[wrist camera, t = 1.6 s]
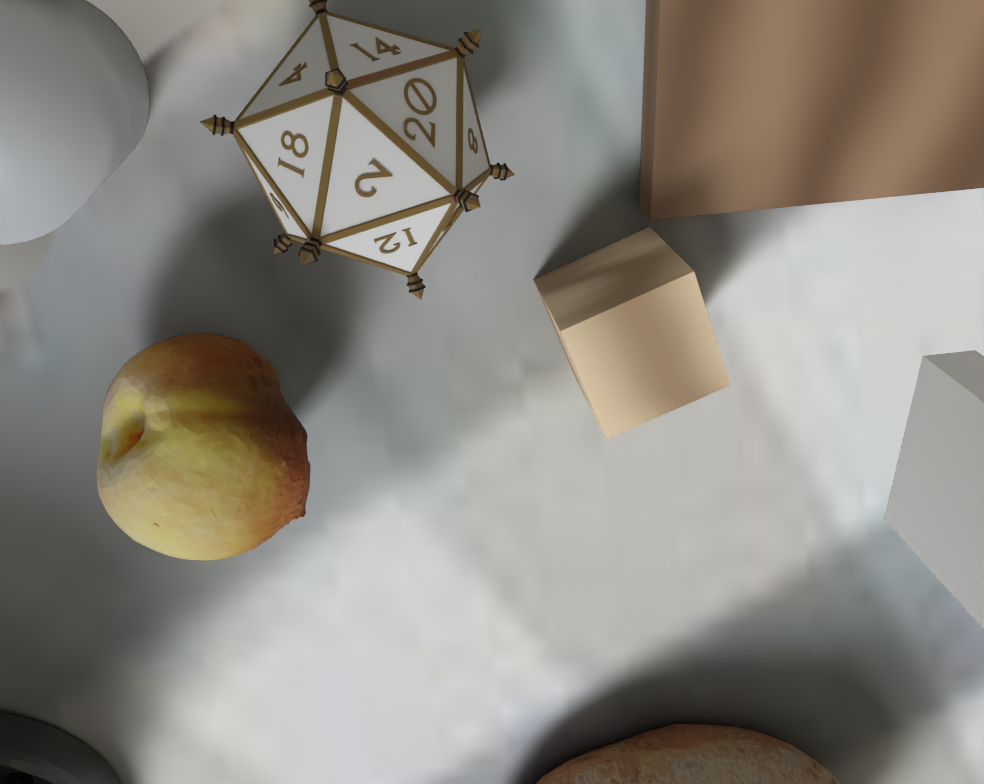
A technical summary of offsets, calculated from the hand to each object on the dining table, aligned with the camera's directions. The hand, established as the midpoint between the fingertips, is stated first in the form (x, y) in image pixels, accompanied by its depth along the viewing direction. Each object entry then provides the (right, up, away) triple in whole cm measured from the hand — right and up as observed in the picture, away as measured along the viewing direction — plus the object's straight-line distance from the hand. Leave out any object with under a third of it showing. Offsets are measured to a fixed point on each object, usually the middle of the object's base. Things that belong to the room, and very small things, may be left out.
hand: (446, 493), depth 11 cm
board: (+13, +15, +19) cm, 28 cm away
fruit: (-10, +1, +23) cm, 25 cm away
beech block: (+5, +5, +24) cm, 25 cm away
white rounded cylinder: (-14, +11, +17) cm, 24 cm away
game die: (-4, +11, +19) cm, 22 cm away
